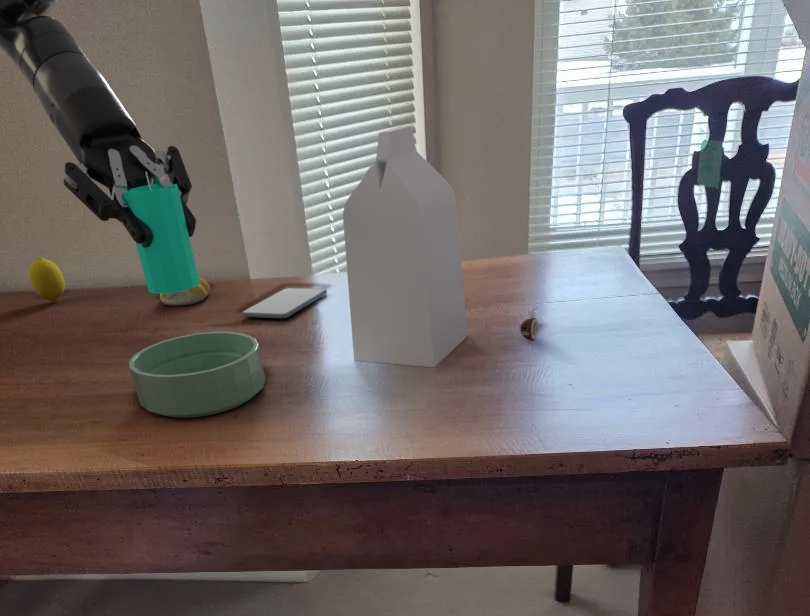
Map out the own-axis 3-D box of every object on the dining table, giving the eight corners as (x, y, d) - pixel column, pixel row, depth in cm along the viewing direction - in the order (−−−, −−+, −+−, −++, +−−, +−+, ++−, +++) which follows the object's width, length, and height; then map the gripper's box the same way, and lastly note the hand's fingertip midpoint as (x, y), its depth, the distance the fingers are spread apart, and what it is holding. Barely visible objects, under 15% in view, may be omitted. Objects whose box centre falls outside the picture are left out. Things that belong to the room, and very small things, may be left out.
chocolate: (526, 334, 100) (527, 304, 98) (541, 336, 99) (542, 306, 96) (516, 341, 98) (516, 311, 96) (531, 343, 97) (531, 313, 94)
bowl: (201, 431, 82) (189, 384, 79) (116, 408, 89) (102, 365, 86) (291, 382, 92) (283, 340, 89) (207, 366, 99) (198, 326, 96)
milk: (434, 367, 92) (420, 133, 78) (354, 360, 97) (326, 137, 82) (467, 336, 101) (460, 120, 86) (393, 330, 105) (374, 125, 91)
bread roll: (215, 290, 133) (210, 268, 130) (202, 305, 125) (197, 281, 123) (170, 294, 133) (165, 271, 131) (155, 308, 126) (149, 284, 123)
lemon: (45, 308, 132) (29, 262, 127) (34, 303, 135) (18, 258, 131) (75, 300, 135) (60, 255, 130) (64, 296, 138) (49, 252, 134)
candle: (175, 295, 81) (145, 176, 75) (136, 291, 84) (105, 176, 77) (211, 280, 86) (186, 167, 79) (173, 277, 88) (146, 167, 81)
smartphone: (328, 288, 124) (285, 314, 113) (329, 294, 125) (286, 320, 113) (285, 287, 127) (239, 312, 115) (286, 293, 127) (240, 318, 116)
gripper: (23, 90, 74) (115, 226, 73) (149, 77, 82) (233, 200, 81) (22, 148, 80) (107, 274, 80) (139, 131, 88) (217, 245, 88)
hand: (170, 236), depth 81 cm, fingers closed on candle, 4 cm apart
